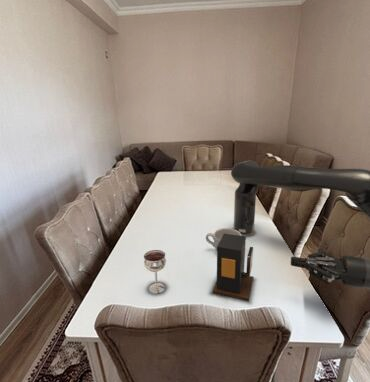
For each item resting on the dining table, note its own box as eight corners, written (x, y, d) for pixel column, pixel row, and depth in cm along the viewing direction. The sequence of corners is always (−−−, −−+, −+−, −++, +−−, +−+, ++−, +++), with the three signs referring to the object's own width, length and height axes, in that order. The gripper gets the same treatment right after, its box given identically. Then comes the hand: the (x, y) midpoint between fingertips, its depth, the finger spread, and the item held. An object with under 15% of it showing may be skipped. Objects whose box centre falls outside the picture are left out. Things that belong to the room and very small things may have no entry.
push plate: (248, 266, 79) (249, 246, 77) (252, 266, 79) (253, 247, 77) (246, 277, 74) (247, 256, 72) (249, 277, 74) (250, 257, 72)
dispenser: (220, 273, 87) (221, 231, 82) (253, 279, 83) (256, 236, 78) (212, 293, 77) (212, 247, 72) (248, 301, 73) (251, 254, 69)
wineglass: (149, 298, 76) (146, 263, 73) (144, 285, 82) (141, 252, 79) (170, 291, 79) (168, 258, 75) (163, 279, 85) (161, 247, 81)
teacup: (243, 248, 103) (244, 230, 100) (237, 262, 93) (237, 242, 91) (211, 242, 108) (211, 225, 106) (202, 254, 99) (202, 236, 97)
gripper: (359, 247, 69) (291, 238, 76) (373, 275, 58) (292, 261, 64) (354, 270, 72) (289, 260, 78) (367, 301, 60) (289, 286, 66)
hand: (291, 261), depth 71 cm, fingers closed
